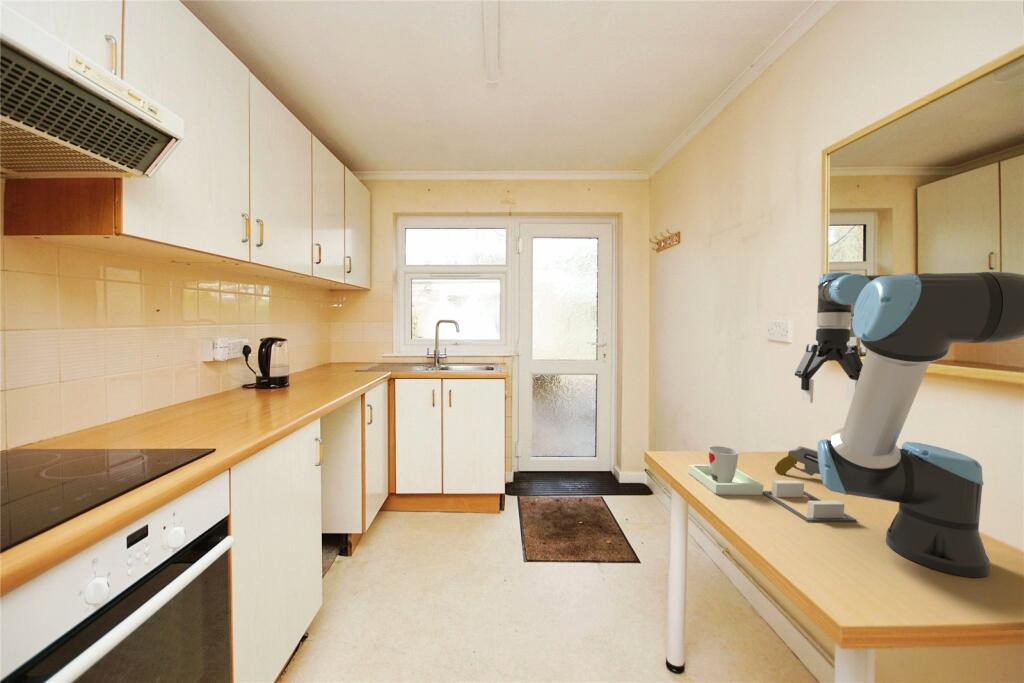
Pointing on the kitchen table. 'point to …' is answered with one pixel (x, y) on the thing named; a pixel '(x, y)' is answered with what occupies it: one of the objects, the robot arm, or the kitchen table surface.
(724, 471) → the cup
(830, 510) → the holder
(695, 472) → the tray
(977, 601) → the kitchen table surface
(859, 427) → the robot arm
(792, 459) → the gun
